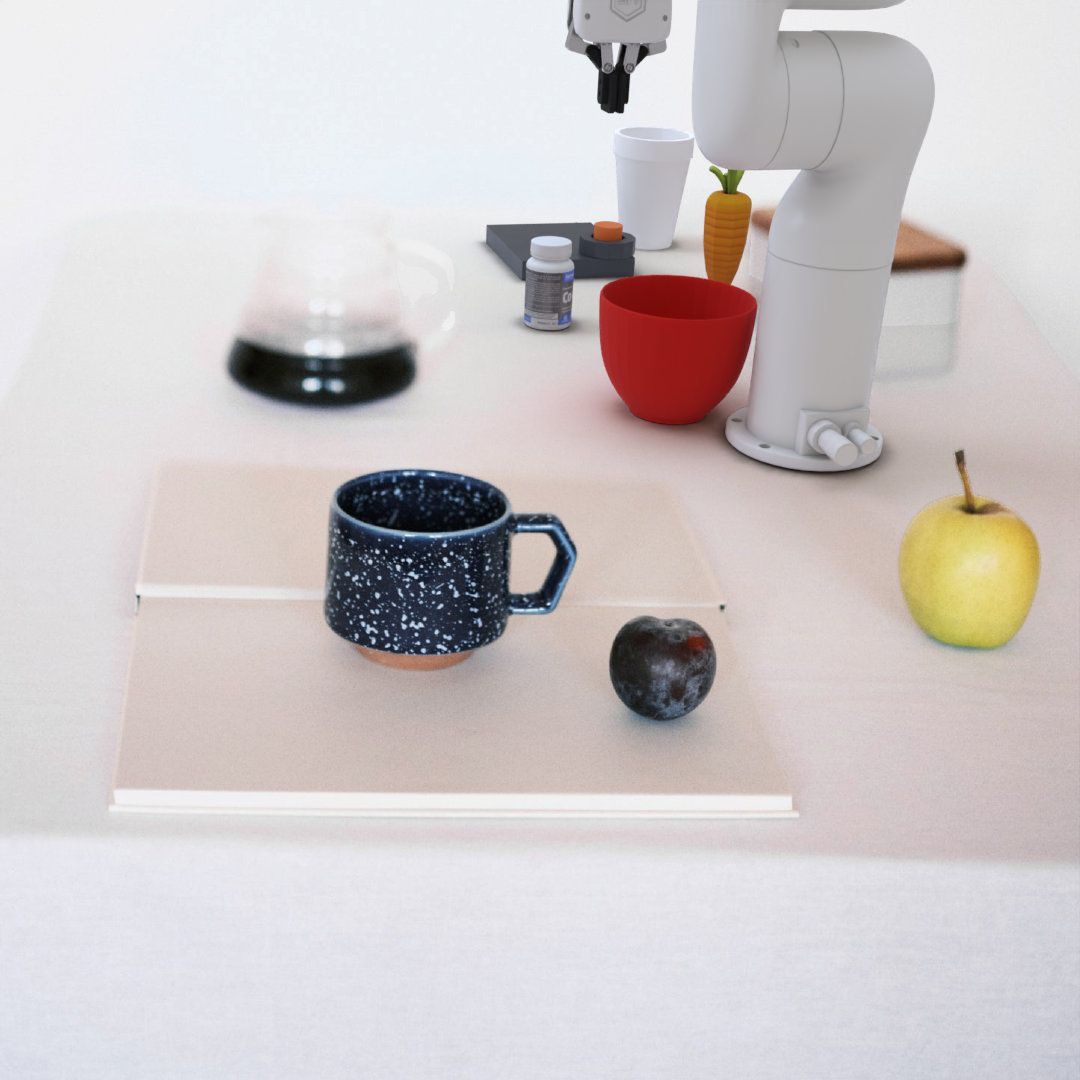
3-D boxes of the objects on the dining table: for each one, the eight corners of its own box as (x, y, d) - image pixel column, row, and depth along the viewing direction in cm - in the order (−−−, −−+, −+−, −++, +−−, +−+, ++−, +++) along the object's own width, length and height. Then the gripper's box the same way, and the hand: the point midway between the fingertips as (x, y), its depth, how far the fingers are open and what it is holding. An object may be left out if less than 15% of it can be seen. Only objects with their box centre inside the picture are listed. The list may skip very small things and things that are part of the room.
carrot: (726, 308, 145) (742, 163, 138) (686, 298, 147) (700, 155, 141) (750, 298, 148) (767, 157, 142) (710, 289, 151) (725, 149, 144)
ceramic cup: (784, 392, 123) (799, 283, 118) (705, 452, 109) (718, 331, 105) (654, 362, 128) (663, 256, 124) (564, 415, 115) (571, 299, 111)
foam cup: (593, 235, 169) (601, 127, 164) (659, 231, 173) (668, 124, 167) (630, 255, 162) (639, 142, 156) (698, 250, 165) (709, 140, 160)
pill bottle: (570, 332, 135) (575, 248, 131) (522, 330, 135) (526, 245, 131) (571, 317, 139) (575, 235, 135) (524, 315, 139) (528, 233, 135)
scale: (639, 278, 153) (642, 242, 152) (523, 282, 150) (524, 246, 148) (593, 240, 168) (596, 207, 166) (485, 243, 164) (486, 209, 162)
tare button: (625, 243, 153) (627, 227, 152) (598, 244, 152) (599, 228, 151) (616, 236, 155) (617, 220, 155) (589, 236, 155) (590, 221, 154)
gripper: (562, -81, 132) (553, 117, 140) (708, -75, 136) (691, 117, 144) (541, -84, 138) (534, 105, 146) (680, -79, 142) (666, 106, 150)
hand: (612, 111), depth 145 cm, fingers closed
